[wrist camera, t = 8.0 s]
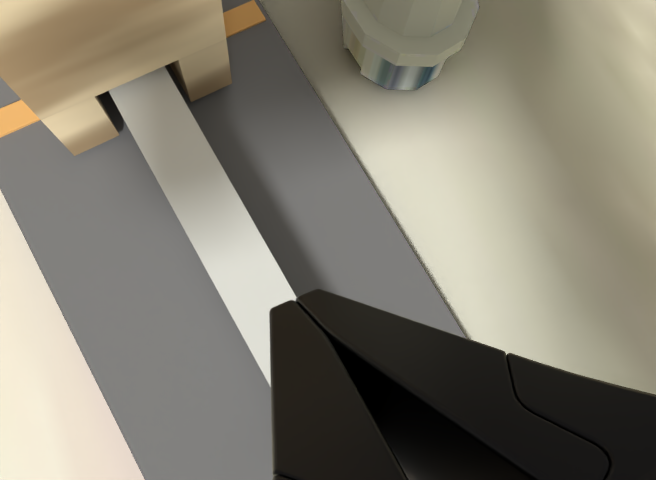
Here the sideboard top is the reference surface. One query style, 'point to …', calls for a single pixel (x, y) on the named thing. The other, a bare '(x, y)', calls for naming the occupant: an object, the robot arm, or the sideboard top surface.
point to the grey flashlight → (405, 37)
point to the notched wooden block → (105, 56)
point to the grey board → (204, 245)
